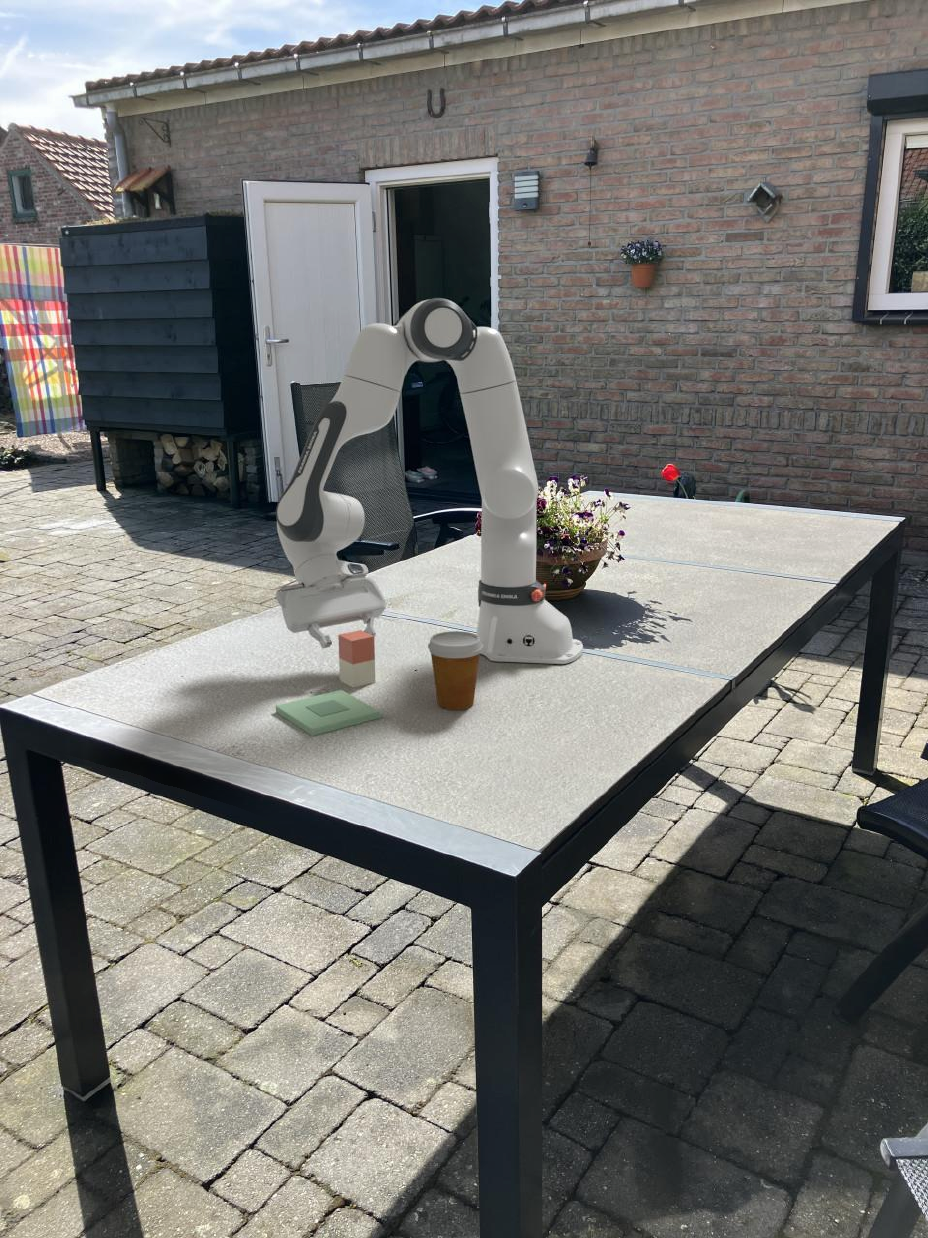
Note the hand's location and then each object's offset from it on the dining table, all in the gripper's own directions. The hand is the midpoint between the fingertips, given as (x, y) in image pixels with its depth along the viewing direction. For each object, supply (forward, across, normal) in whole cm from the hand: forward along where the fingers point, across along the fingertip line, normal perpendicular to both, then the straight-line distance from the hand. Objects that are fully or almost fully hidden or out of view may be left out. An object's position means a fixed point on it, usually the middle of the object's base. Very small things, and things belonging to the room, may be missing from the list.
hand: (349, 641), depth 191 cm
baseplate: (+15, -13, -5) cm, 20 cm away
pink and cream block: (+7, 0, +3) cm, 8 cm away
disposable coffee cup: (+21, +8, -11) cm, 25 cm away
